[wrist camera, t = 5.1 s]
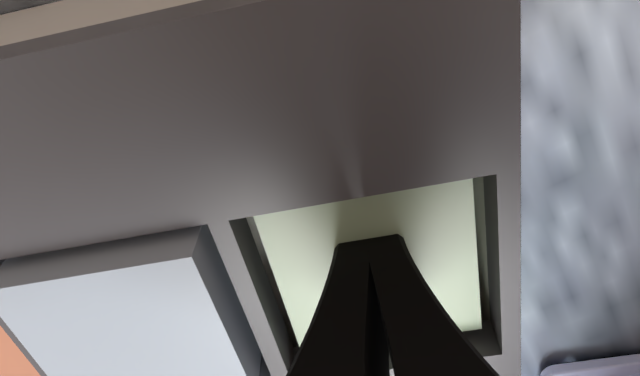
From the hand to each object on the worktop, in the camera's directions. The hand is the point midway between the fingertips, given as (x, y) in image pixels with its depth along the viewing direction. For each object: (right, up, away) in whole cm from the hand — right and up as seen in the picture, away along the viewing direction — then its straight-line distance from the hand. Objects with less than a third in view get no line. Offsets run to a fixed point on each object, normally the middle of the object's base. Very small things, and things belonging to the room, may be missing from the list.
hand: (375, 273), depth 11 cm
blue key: (-5, 0, +2) cm, 5 cm away
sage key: (0, +1, +2) cm, 2 cm away
